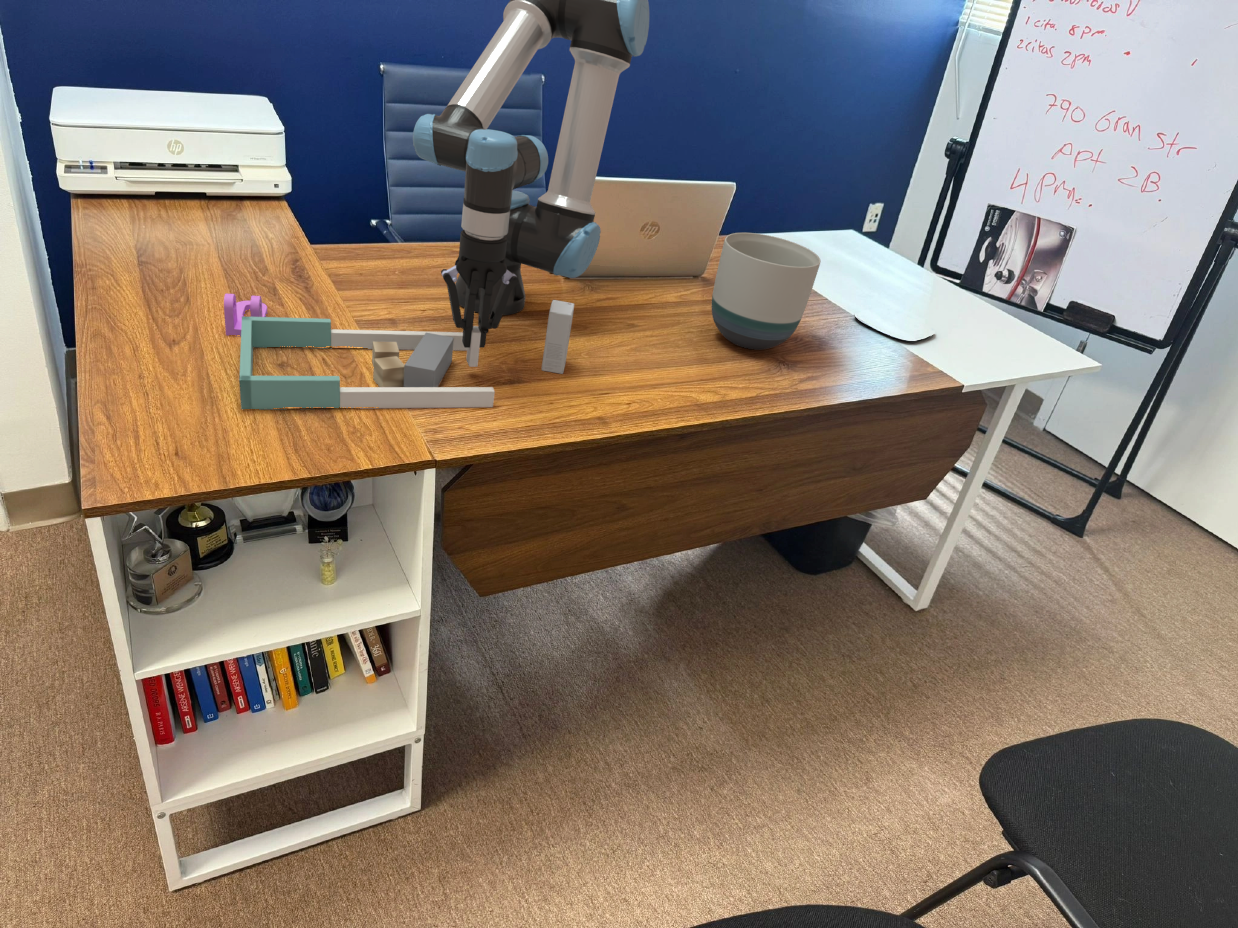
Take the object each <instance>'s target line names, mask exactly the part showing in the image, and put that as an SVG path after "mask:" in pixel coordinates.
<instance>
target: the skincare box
mask: <svg viewBox="0 0 1238 928" xmlns="http://www.w3.org/2000/svg"><path fill="white" fill-rule="evenodd" d="M551 301H552V302H551V303H550V304H551V305H550V308H549V312H548V319H547V326H546V335H545V341H544V347H543V348H544V349H543V355H542V356H543V357H542V363H541V371H543V372H550V373H554V374H560V375H561V374H562V375H563V374H564V371H565V367H566V362H567V356H568V350H569V349H568V348H569V343H570V336H571V330H572V323H573V316H574V309H575V303H572V302H567V301H563V300H557V299H552V300H551Z"/></svg>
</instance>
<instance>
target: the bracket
mask: <svg viewBox="0 0 1238 928" xmlns="http://www.w3.org/2000/svg"><path fill="white" fill-rule="evenodd" d="M262 300H263V299H262V296H261V295H251V296H250V300H241V301H237V297H236V294H235V293H225V294H224V297H223V312H224V313H223V314H224V326H225V336H229V335H236V336H235V337H238V336H237V335H240V336H239V337H241V327H242V316H244V314H245V315H246V313H245V311H246V310H249V309H250V311H249V312H250V317H267V316H266V314H267V315H268V305H266V304H265V303H263V301H262Z"/></svg>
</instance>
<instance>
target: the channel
mask: <svg viewBox="0 0 1238 928" xmlns="http://www.w3.org/2000/svg"><path fill="white" fill-rule="evenodd" d="M425 333H432V334H437V335H442V336H448V337H453V338H454V341H453V351H466V352H467V348H465V347H464V345H463V342H462V338H463V331H462V332H461V331H460V332H459V331H458V332H457V331H456V332H455V331H420V330H419V331H413V330H412V331H411V330H380V329H379V330H371V329H338V328H337V329H335V328H334V329H332V328H331V346H332V347H333V346H334V347H335V346H336V347H337V346H347V347H348V346H350V347H352V346H353V347H363V348H368V349H367V350H373V342H397V346H398V349H399V351H400V350H404V351H405V350H406V351H407V350H409V351H411V350H412V351H414V350H415V348H416V347H417V345H418V344H419V342H420V341H421V339H422V338H423V336H424V335H425ZM495 392H496V391H495V389H494V387H493V386H486V387H485V386H480V387H479V386H469V387H467V386H465V387H464V386H459V387H458V386H457V387H456V386H452V387H451V386H449V387H448V386H446V387H445V386H441V387H439V386H438V387H379V386H377V387H376V386H375V387H373V386H372V387H370V386H369V387H367V386H366V387H365V386H364V387H362V386H357V387H356V386H355V387H354V386H350V387H346V386H343V387H341V386H340V408H341V407H342V408H343V407H344V408H345V407H346V408H348V407H351V408H354V407H355V408H356V407H362V408H361V409H364V408H363V407H375V408H374V409H377V408H376V407H379V408H378V409H433V408H435V409H436V408H437V409H438V408H439V409H440V408H441V409H442V408H446V409H447V408H448V409H450V408H456V409H457V408H460V409H461V408H494V401H495V394H496V393H495Z"/></svg>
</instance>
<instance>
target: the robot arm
mask: <svg viewBox="0 0 1238 928" xmlns="http://www.w3.org/2000/svg"><path fill="white" fill-rule="evenodd" d="M502 17H503V20H502V21H503V22H502V23H501V24H500V26H499V27H498V29H497V30H496V32H495V33H494V35H493V37H491V39H490V41H489V42H488V44H487V45H486V47H485V48H484V50H483V51H482V53H481V54H480V56H479V57H478V59H477V60H476V62H475V64H474V65H473V66H472V67H471V68H470V69H471V70H470V71H469V73H467V76H466V77H465V79H464V80H463V82H462V83H461V84H460V86H459V87H458V89H457V91H456V92H455V93H454V95H453V96H452V98H451V99H450V101H449V103H448V104H447V105H446V107H444V109H443V111H442V112H441V114H440V115H438V114H435V113H433V114H432V113H426V114H423V115H421V116H420V117H419V118H418V119H417V121H416V122H415V125H414V128H413V133H412V144H413V148H414V151H415V154H416V155H417V156H418V157H419V159H422V160H424V161H427V162H429V163H433V164H434V165H437V166H440V167H441V166H444V167H447V168H450V169H453V170H454V169H455V170H458V171H462V172H465V178H464V192H463V193H464V194H463V203H462V213H461V228H462V230H461V231H460V236H459V250H458V257H457V259H456V260H455V262H454V266H452V267H450V268H448V269H447V268H443V269H442V270H441V271H440V273H441V277H442V279H443V280H444V282H445V284H446V287H447V294H448V298H449V304H450V310H451V316H452V320H453V323H454V325H455V327H456V328H457V329H462V332H463V338H462V342H463V345H464V347H465V348H467V351H466V358H465V360H466V363H467V365H468V366H469V367H472V368H474V367H477V368H478V365H479V355H480V348H481V349H483V348H486V347H485V346H486V342H487V335H488V333H489V330H491V329H494V330H496V329H498V328H499V325H500V322H501V320H502V317H503V316H507V315H514V314H518V313H519V312H521V311H523V310H524V308H525V306H526V291H525V287H524V282H523V277H522V270H521V269H522V268H521V267H522V265H523V266H528V267H531V268H535V269H537V270H542V271H545V272H548V273H552V274H553V275H554V276H562V277H565V278H570V279H575V278H578V277H580V276H581V275H582V274H584V272H586V271H587V269H588V268H589V266H590V265H591V263H592V261H593V259H594V256H595V255H596V253H597V251H598V247H599V243H600V239H601V232H602V230H601V227H600V225H599V224H598V223H597V222H594V221H595V218H596V217H595V216H596V212H595V210H594V207H593V206H592V203H591V201H592V195H593V192H594V187H595V182H596V177H597V173H598V169H599V166H600V165H599V164H600V160H601V157H602V156H601V155H602V152H603V149H604V148H603V147H604V142H605V138H606V134H607V130H608V126H609V121H610V117H611V112H612V109H613V108H612V107H613V104H614V99H615V95H616V90H617V86H618V82H619V77H620V75H621V73H622V72H624V71H625V70H627V69H628V68H630V66H631V61H632V58H633V57H639V56H641V55H642V54H643V52H644V51H645V47H646V44H647V42H648V36H649V29H650V5H649V0H509V1H508V3H507V5H506V6H505V8H504V10H503V15H502ZM554 38H560V39H565V40H568V41H570V46H569V52H570V54H571V55H572V58H573V59H574V66H573V70H572V75H571V80H570V85H569V89H568V95H567V99H566V103H565V107H564V113H563V118H562V122H561V127H560V132H559V136H558V141H557V145H556V151H555V154H554V155H555V156H554V160H553V165H552V169H551V173H550V179H549V184H548V188H547V189H548V190H547V191H546V192H545V193H544V194H542V195H541V196H540V197H538V198H537V202H536V206H535V205H531V204H530V202H531V200H530V196H529V195H528V194H527V193H525V192H523V191H519V190H516V189H519V188H521V187H525V186H527V185H531V184H533V183H535V181H537V180H538V179H540V178H542V177H543V176H544V175H545V174H546V171H547V169H548V165H549V156H548V155H549V154H548V151H547V149H546V147H545V145H544V143H543V142H542V141H541V140H540V139H538V138H537V137H535V136H533V135H525V134H521V135H517V136H514V135H512V134H510V133H508V132H505V131H501V130H496V129H488V128H489V126H490V125H491V123H492V121H494V119H495V117H496V115H498V112H500V110H501V108H502V106H503V105H504V103H505V101H506V100H507V98H508V97H509V95H510V94H511V92H512V90H513V89H514V87H515V86H516V84H517V83H518V81H519V79H520V78H521V77H522V75H523V73H524V71H525V70H526V69H527V67H528V65H529V64H530V62H531V60H532V59H533V57H534V56H535V54H536V53H537V51H538V50H541V49H544V48H546V47H547V46H548V45H549V43H550V42H551V40H552V39H554ZM457 276H458V277H457ZM461 307H462V308H464V310H463V318H462V311H461ZM475 313H478V317H477V318H478V319H477V320H478V321H477V325H474V320H475V319H474V318H475Z"/></svg>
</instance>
